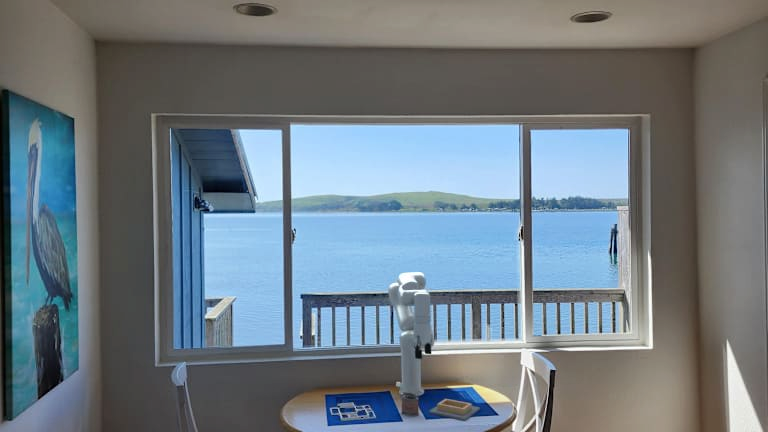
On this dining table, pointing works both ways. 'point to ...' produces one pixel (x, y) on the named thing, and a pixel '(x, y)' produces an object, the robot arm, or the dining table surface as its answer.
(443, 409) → the tan recessed tray
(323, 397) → the dining table surface
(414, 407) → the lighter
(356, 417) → the floor plan model
